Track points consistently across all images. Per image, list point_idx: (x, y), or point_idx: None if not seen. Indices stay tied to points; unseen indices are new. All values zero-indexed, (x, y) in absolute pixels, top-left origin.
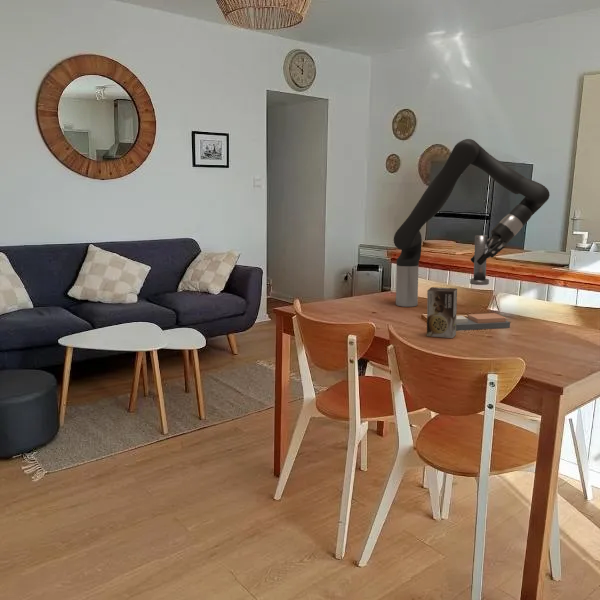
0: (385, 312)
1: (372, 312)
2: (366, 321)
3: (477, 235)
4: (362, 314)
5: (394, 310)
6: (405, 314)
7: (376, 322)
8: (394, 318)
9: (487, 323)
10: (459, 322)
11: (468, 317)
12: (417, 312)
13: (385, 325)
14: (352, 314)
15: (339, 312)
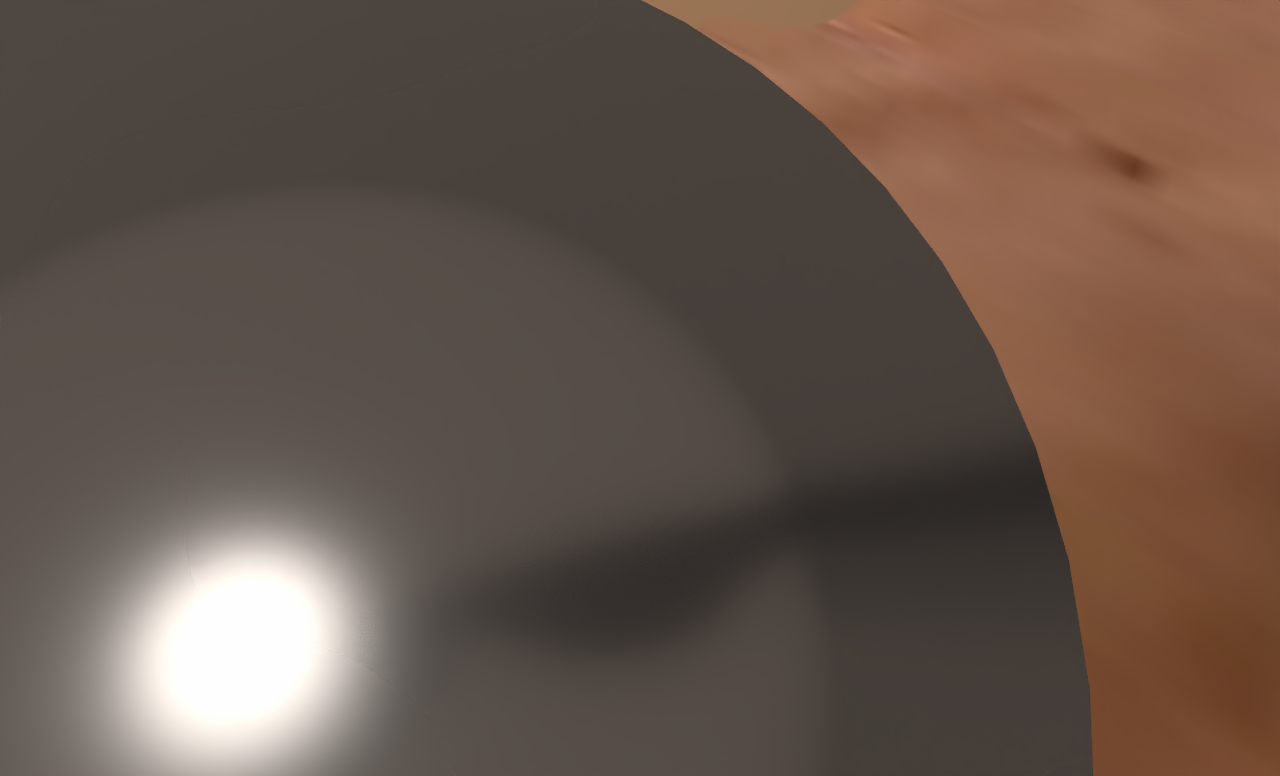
0: (1112, 233)
1: (1136, 160)
2: (870, 8)
3: (869, 448)
4: (1086, 80)
5: (1173, 328)
6: (995, 317)
7: (819, 38)
8: (888, 180)
9: None
10: None
11: None
12: (1042, 446)
13: (718, 39)
14: (1104, 34)
15: (1188, 3)
